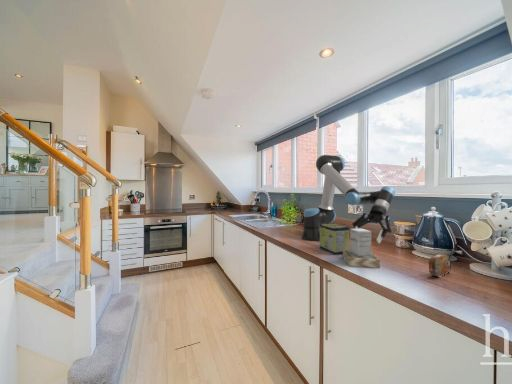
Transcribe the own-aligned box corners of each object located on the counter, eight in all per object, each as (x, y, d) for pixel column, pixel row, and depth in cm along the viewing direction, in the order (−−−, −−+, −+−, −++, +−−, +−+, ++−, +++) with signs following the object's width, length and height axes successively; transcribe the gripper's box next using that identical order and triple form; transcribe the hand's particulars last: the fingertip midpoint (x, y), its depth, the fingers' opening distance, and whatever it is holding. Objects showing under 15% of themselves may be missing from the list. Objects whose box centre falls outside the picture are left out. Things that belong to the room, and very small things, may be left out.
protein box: (332, 246, 136) (332, 223, 136) (349, 253, 121) (349, 227, 121) (319, 247, 133) (319, 224, 133) (335, 255, 118) (334, 228, 118)
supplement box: (349, 251, 110) (349, 228, 110) (362, 251, 110) (362, 228, 110) (357, 256, 102) (357, 231, 102) (371, 255, 103) (371, 230, 103)
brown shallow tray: (348, 265, 101) (348, 257, 101) (342, 256, 115) (342, 249, 115) (379, 267, 98) (379, 259, 98) (370, 258, 112) (370, 250, 112)
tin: (436, 279, 86) (436, 259, 85) (427, 276, 88) (427, 257, 88) (452, 272, 92) (452, 253, 92) (443, 270, 95) (443, 252, 95)
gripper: (406, 215, 107) (393, 248, 99) (361, 211, 128) (346, 238, 120) (402, 206, 104) (387, 239, 96) (355, 203, 125) (340, 230, 118)
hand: (364, 239), depth 108 cm, fingers open, 13 cm apart
